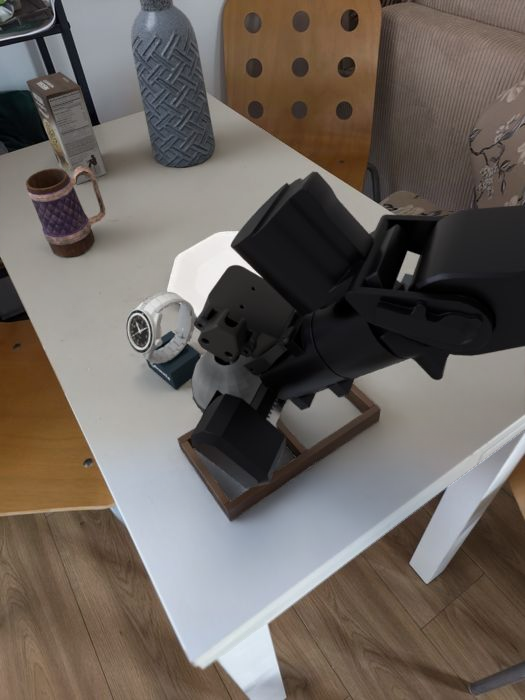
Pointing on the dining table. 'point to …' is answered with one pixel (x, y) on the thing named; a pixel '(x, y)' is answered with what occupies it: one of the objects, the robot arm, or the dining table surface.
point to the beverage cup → (222, 379)
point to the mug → (64, 210)
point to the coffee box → (67, 124)
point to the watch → (164, 338)
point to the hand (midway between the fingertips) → (221, 393)
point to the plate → (204, 268)
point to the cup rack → (293, 467)
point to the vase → (171, 85)
